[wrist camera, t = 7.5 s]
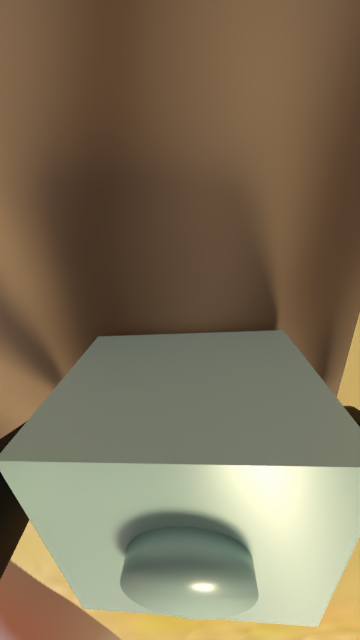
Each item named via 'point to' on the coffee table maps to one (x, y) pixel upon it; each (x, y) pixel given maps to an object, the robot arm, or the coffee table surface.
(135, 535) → the pale green knobbed block
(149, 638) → the coffee table surface
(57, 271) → the board
